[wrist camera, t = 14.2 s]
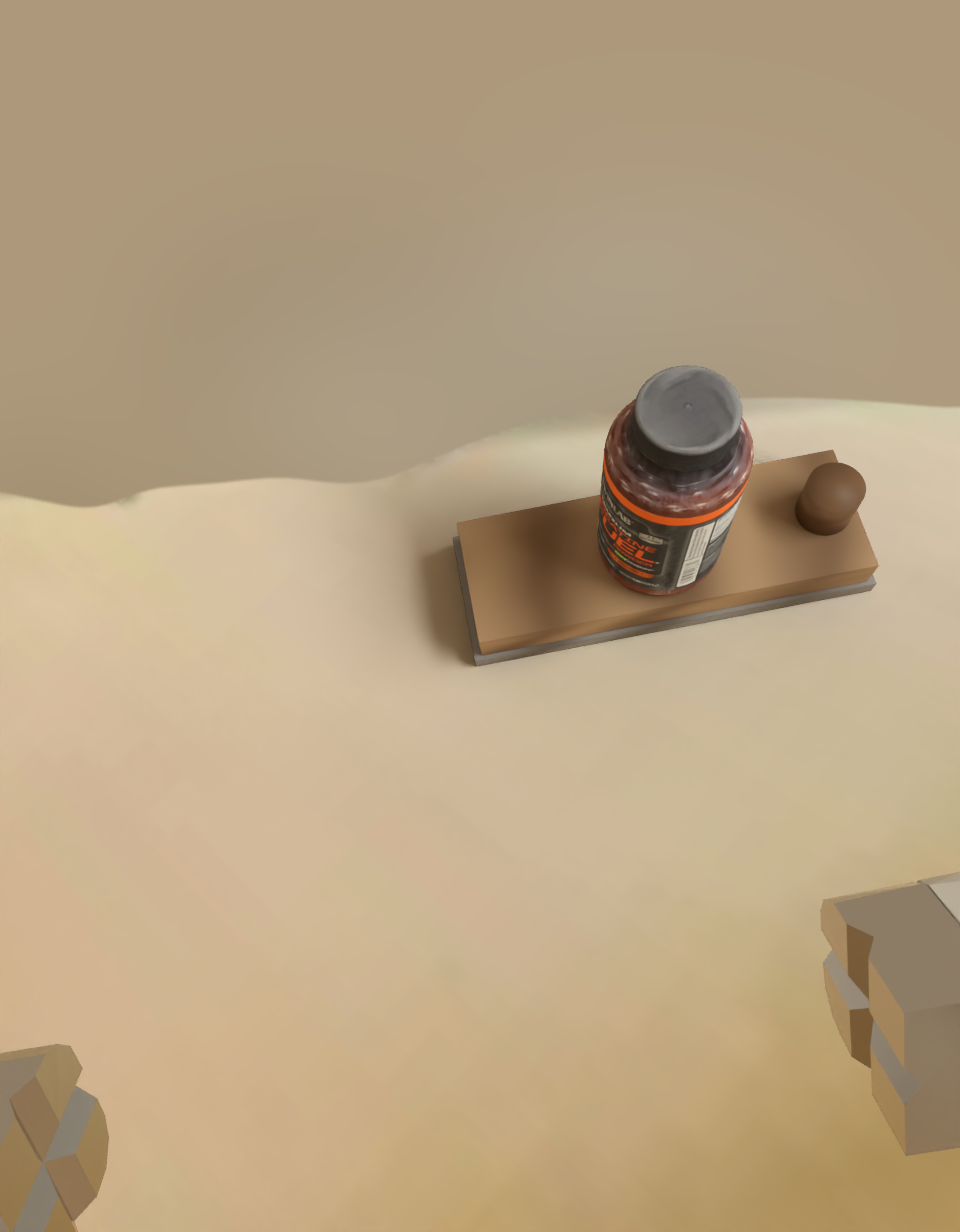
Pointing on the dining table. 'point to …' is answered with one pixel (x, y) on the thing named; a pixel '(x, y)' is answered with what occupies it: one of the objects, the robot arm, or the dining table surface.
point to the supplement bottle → (672, 480)
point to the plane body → (608, 610)
